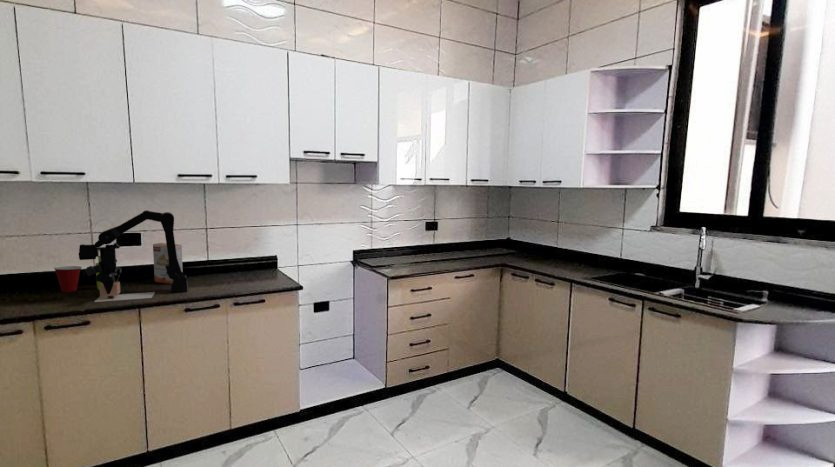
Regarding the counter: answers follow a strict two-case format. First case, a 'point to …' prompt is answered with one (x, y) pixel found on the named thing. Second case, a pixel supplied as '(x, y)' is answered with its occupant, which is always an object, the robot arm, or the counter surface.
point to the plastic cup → (68, 277)
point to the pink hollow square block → (114, 290)
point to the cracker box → (164, 261)
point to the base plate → (126, 297)
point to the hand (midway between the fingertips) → (110, 292)
